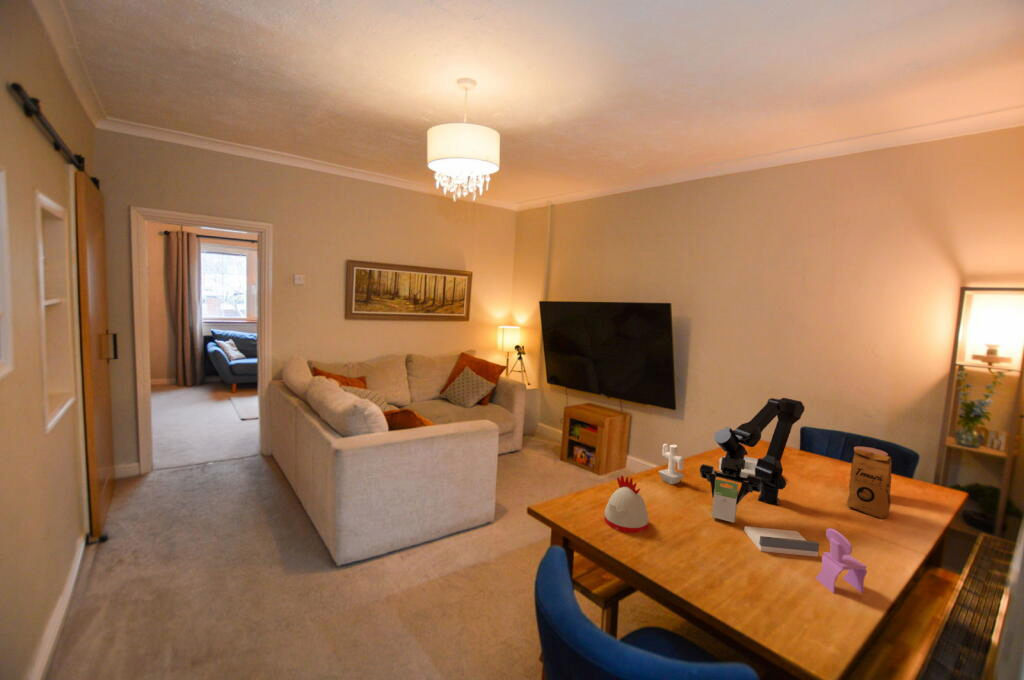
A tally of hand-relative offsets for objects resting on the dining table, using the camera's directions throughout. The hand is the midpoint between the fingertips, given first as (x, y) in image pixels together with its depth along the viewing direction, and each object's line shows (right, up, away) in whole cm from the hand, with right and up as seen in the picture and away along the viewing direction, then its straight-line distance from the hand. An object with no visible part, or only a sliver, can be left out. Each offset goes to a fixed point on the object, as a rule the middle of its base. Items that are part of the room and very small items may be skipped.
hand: (724, 500), depth 152 cm
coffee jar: (+70, -9, +31) cm, 77 cm away
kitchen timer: (-33, -6, -2) cm, 34 cm away
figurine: (-6, -4, +34) cm, 34 cm away
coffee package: (+59, -9, +15) cm, 62 cm away
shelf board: (+12, -9, -11) cm, 18 cm away
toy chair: (+16, -12, -31) cm, 37 cm away
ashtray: (+32, -5, +48) cm, 58 cm away
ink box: (0, -7, +2) cm, 7 cm away
